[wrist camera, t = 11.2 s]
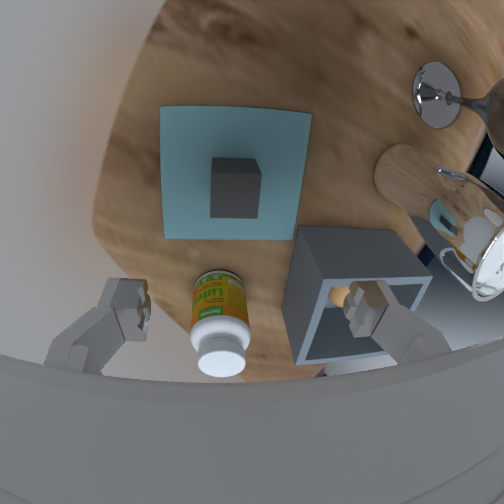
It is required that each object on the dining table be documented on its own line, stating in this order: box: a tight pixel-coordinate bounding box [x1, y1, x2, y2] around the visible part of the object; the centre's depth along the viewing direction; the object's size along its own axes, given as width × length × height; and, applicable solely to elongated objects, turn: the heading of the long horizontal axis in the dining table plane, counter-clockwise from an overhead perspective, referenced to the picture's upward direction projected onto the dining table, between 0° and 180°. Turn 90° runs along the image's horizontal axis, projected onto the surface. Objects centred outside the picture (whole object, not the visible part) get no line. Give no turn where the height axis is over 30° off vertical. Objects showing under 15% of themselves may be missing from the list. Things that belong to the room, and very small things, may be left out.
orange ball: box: [328, 287, 350, 307], centre depth 29 cm, size 4×4×4 cm
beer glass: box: [374, 144, 504, 301], centre depth 19 cm, size 7×7×15 cm
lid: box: [160, 105, 312, 240], centre depth 22 cm, size 12×12×5 cm
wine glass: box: [413, 62, 504, 159], centre depth 14 cm, size 8×8×15 cm
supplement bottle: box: [191, 271, 250, 377], centre depth 27 cm, size 5×5×10 cm
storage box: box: [281, 225, 433, 366], centre depth 28 cm, size 11×11×8 cm
